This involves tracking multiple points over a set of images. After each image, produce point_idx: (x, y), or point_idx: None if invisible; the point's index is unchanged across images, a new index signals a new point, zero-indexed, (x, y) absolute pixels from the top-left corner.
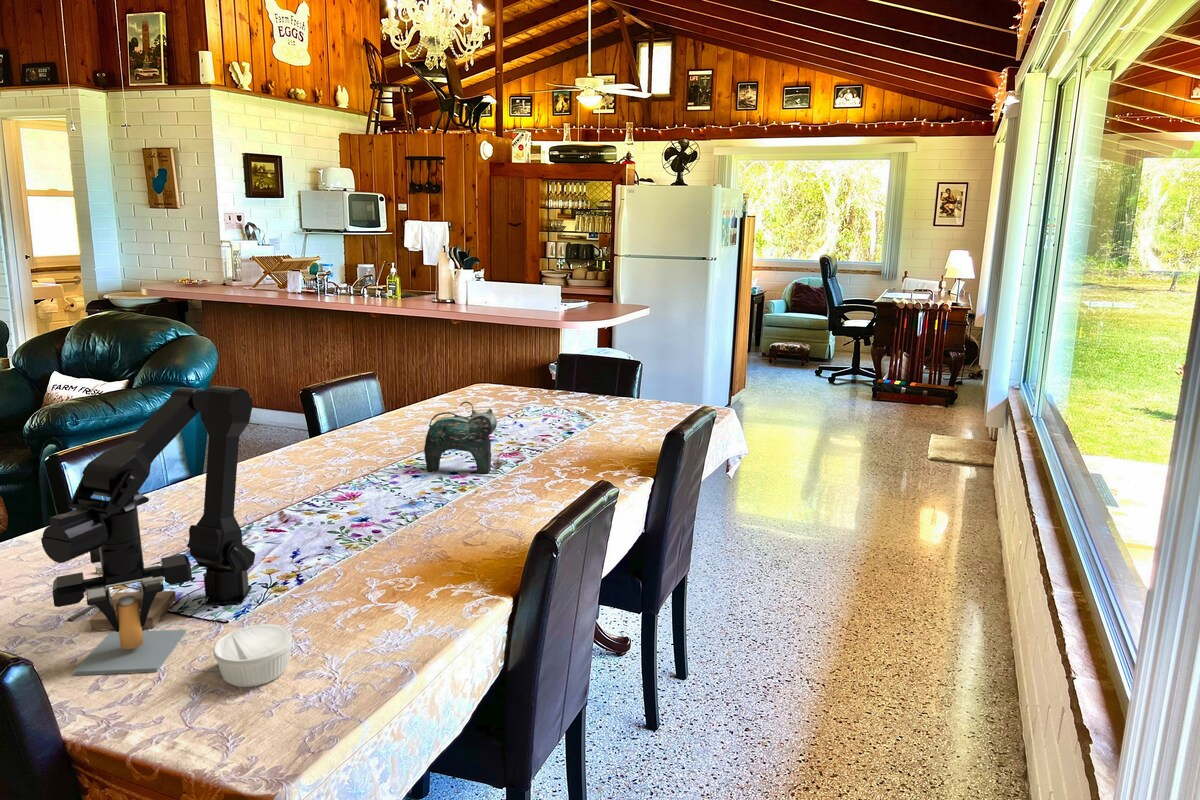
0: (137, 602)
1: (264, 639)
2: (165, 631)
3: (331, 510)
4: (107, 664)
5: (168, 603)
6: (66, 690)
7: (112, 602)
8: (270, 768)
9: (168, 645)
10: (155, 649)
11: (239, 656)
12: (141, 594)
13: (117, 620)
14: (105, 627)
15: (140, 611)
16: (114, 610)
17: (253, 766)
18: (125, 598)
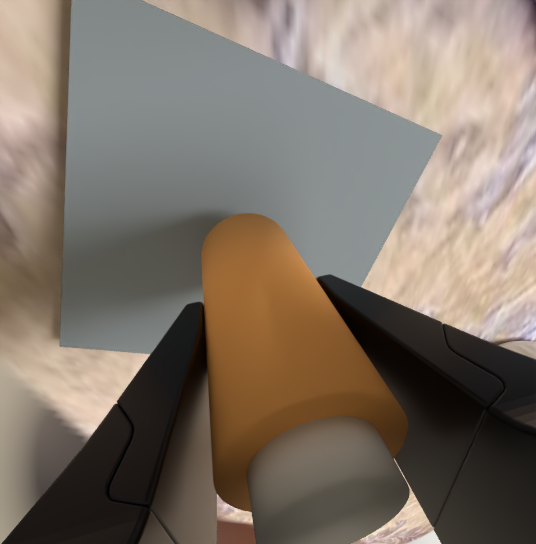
0: (392, 455)
1: None
2: (369, 118)
3: None
4: (171, 324)
5: None
6: (81, 401)
7: (168, 466)
8: (410, 530)
9: (361, 252)
10: (320, 269)
11: None
12: (478, 468)
13: (205, 351)
14: None
15: (354, 326)
16: (193, 421)
17: (397, 529)
18: (324, 524)
